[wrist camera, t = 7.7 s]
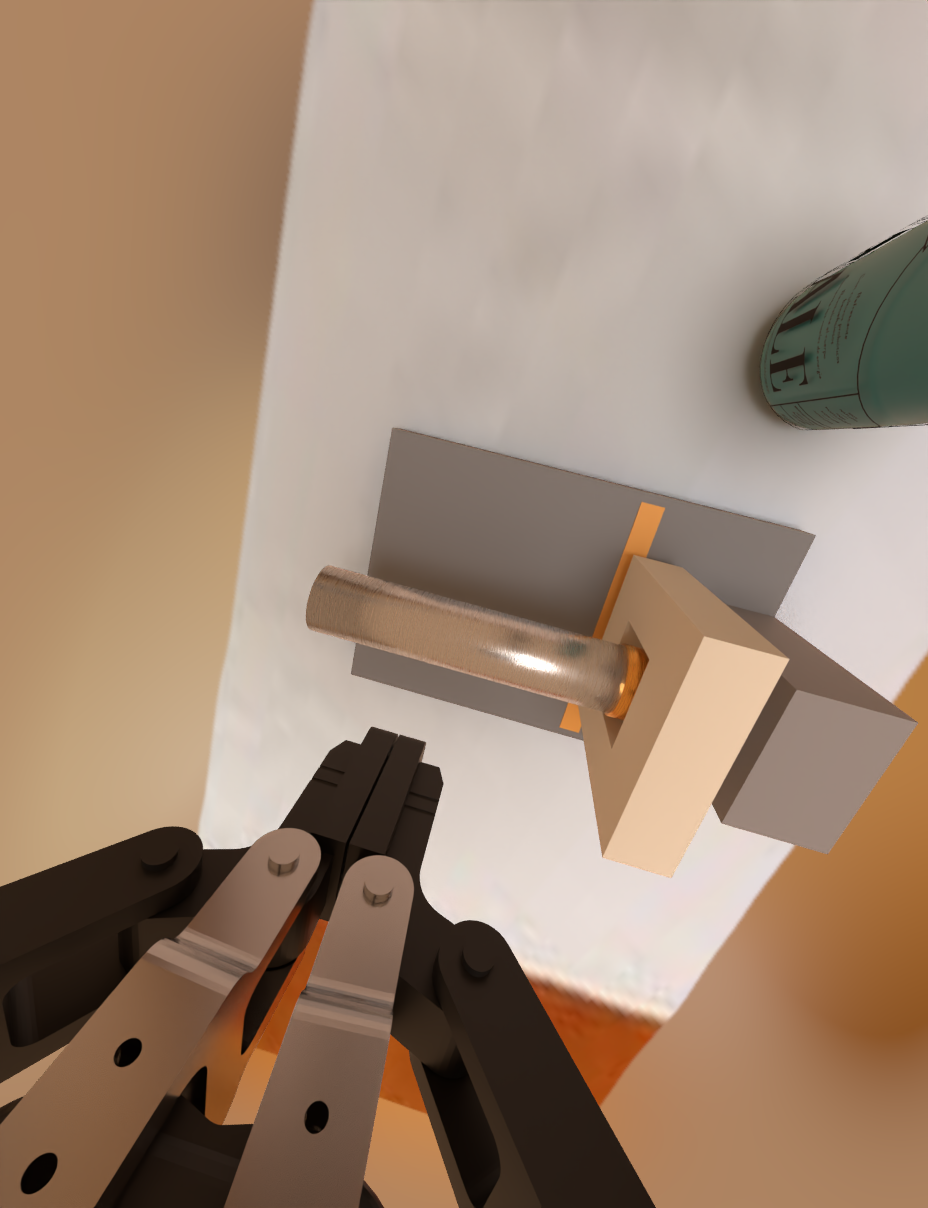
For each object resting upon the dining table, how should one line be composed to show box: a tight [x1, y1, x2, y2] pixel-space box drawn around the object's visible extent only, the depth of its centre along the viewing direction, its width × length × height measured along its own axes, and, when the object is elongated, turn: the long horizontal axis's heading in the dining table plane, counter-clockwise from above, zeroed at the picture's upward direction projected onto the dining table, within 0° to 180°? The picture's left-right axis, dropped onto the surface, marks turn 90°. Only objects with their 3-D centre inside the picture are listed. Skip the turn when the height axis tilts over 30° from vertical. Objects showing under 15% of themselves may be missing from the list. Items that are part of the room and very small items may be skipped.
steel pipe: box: [306, 566, 649, 721], centre depth 21 cm, size 3×19×3 cm, turn 76°
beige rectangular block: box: [578, 555, 789, 878], centre depth 20 cm, size 9×2×11 cm, turn 166°
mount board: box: [351, 428, 918, 854], centre depth 23 cm, size 15×22×12 cm
